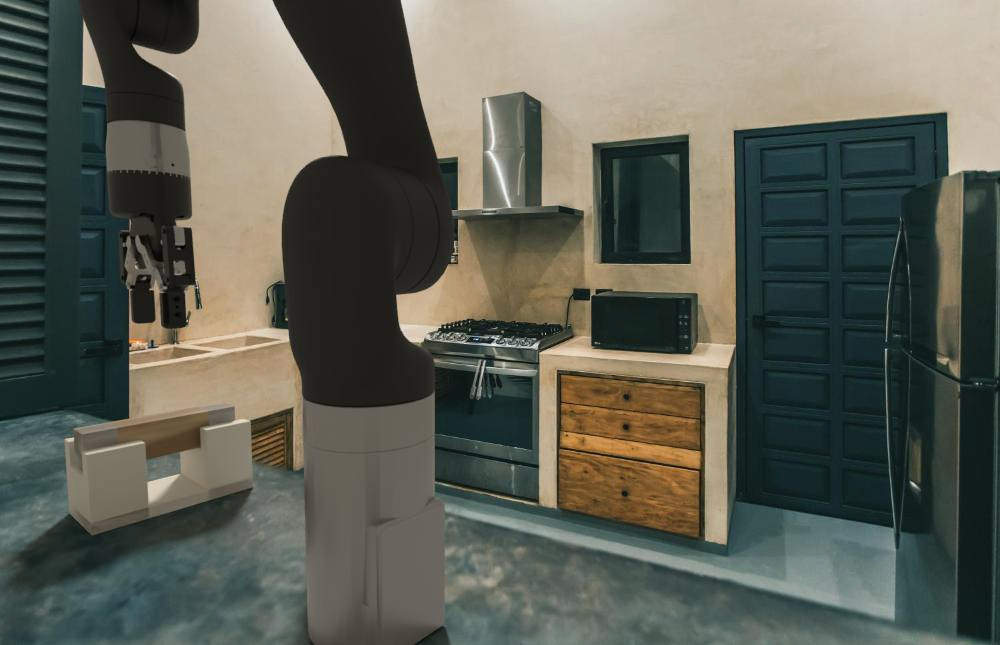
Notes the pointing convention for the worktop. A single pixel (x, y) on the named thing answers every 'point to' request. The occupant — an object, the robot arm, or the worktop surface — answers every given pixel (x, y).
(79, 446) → the rail
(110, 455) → the white notched block
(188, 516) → the worktop surface
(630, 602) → the worktop surface
